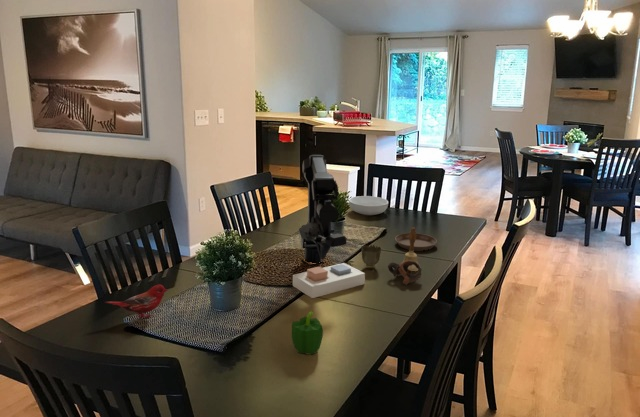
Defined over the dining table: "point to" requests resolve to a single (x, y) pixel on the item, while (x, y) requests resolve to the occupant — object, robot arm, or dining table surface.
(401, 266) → the pottery mug
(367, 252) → the cup
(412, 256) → the hand bell
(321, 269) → the terracotta key
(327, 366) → the dining table surface
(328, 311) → the dining table surface
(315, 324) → the bell pepper
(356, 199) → the serving bowl
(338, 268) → the blue key
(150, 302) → the decorative bird figurine
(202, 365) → the dining table surface
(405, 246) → the plant saucer
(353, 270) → the key panel
